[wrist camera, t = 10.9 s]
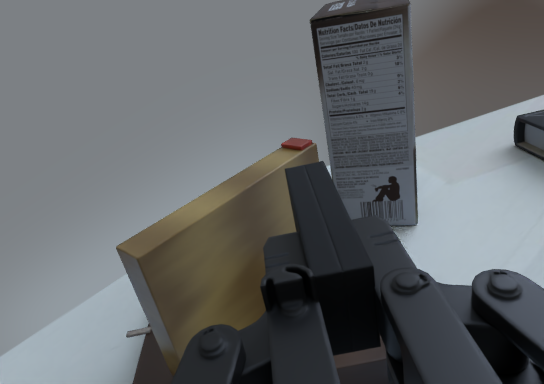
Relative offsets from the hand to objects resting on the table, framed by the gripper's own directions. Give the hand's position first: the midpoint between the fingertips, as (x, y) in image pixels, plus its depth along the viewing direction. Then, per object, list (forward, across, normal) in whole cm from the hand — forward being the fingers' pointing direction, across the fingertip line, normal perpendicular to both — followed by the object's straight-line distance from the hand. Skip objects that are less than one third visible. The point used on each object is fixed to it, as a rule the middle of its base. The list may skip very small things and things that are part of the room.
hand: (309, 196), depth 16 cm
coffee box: (+17, +7, -11) cm, 22 cm away
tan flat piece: (+4, -3, -9) cm, 11 cm away
